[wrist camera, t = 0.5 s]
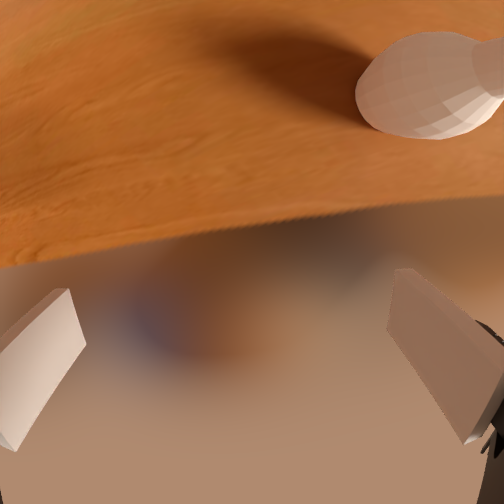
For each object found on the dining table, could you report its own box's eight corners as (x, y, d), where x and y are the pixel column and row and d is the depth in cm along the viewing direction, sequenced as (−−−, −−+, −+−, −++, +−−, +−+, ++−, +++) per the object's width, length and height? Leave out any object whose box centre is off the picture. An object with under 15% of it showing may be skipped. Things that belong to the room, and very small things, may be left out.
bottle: (429, 92, 33) (573, 67, 9) (402, 156, 36) (559, 178, 12) (364, 46, 31) (485, -40, 7) (332, 112, 34) (463, 59, 10)
